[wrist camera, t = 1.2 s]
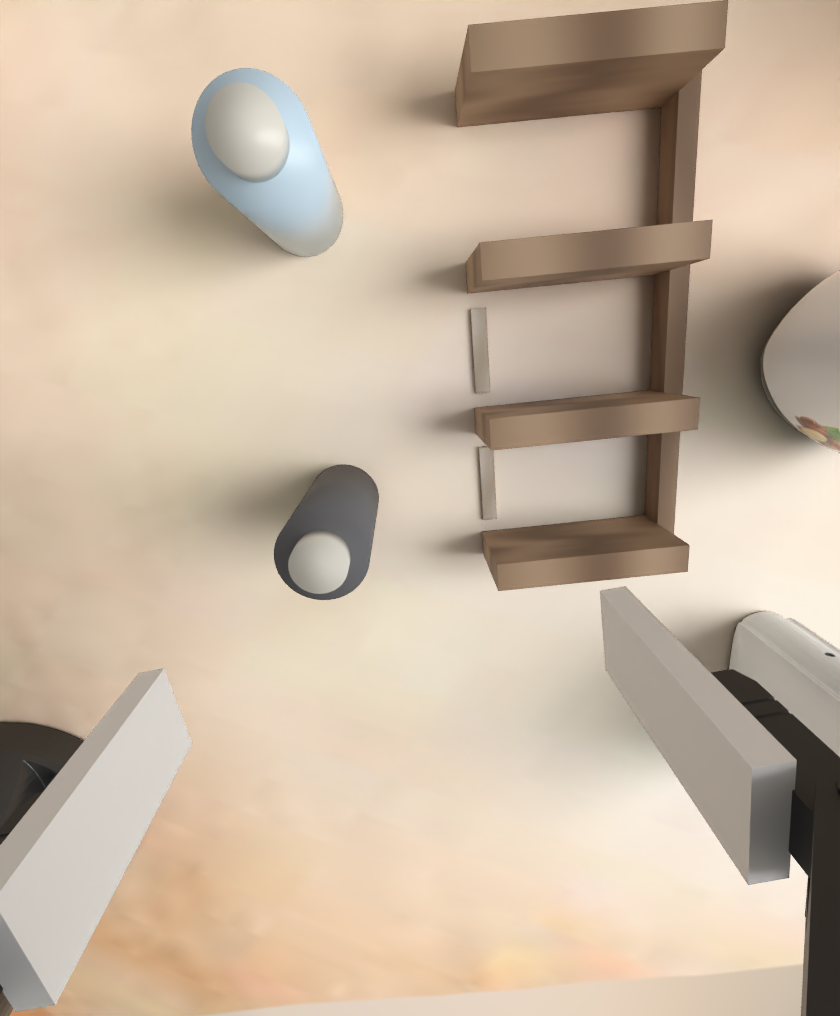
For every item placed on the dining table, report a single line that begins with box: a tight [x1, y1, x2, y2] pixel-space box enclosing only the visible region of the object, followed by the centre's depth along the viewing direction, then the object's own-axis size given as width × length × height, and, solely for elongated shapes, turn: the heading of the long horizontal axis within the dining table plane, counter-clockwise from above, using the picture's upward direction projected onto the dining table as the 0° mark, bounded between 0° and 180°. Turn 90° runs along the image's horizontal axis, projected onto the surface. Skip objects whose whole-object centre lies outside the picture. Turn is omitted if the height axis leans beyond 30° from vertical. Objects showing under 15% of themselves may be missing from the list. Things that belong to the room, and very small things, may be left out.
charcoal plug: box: [274, 465, 379, 600], centre depth 25 cm, size 4×4×10 cm
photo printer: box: [729, 612, 840, 757], centre depth 29 cm, size 10×4×12 cm, turn 5°
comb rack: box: [455, 0, 728, 591], centre depth 25 cm, size 11×26×5 cm, turn 5°
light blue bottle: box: [191, 68, 343, 257], centre depth 20 cm, size 4×4×10 cm
